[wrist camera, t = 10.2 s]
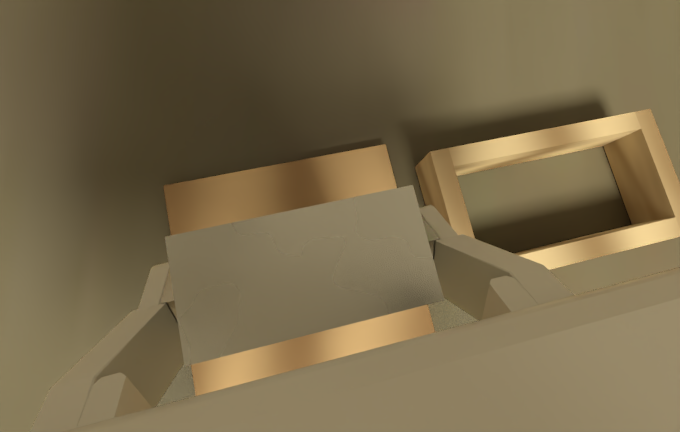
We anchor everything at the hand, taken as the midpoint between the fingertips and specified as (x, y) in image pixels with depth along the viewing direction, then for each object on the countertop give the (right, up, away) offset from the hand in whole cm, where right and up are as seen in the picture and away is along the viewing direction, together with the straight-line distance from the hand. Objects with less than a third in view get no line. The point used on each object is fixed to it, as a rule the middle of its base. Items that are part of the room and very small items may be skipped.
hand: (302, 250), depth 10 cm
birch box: (+12, +2, +10) cm, 16 cm away
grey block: (0, -1, +4) cm, 4 cm away
